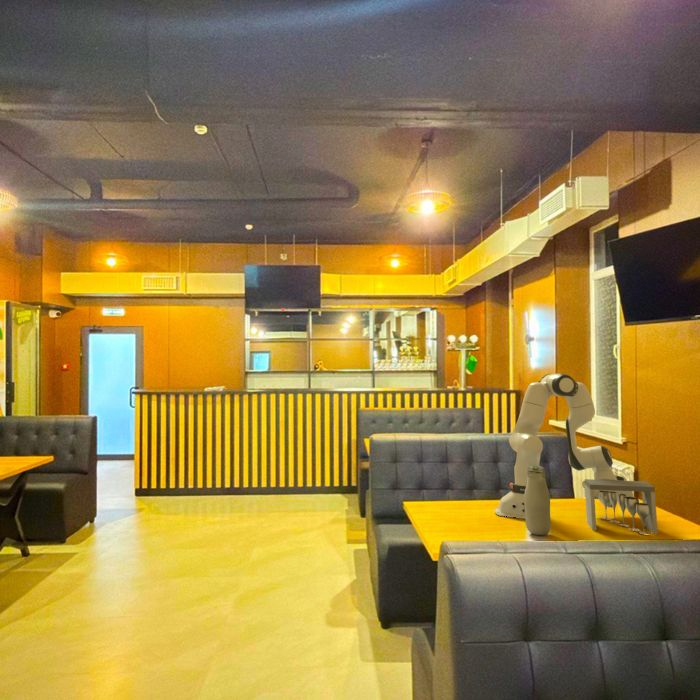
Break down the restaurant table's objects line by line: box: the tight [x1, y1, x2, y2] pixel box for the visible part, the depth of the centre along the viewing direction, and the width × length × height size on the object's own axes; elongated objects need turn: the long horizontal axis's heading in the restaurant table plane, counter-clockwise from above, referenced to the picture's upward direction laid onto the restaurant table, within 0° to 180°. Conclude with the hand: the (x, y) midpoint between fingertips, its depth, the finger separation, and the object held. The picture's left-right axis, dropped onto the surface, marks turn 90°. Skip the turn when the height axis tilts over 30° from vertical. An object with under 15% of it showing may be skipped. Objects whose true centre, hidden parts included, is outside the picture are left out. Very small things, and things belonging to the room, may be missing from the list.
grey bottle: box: [524, 465, 552, 536], centre depth 193 cm, size 10×10×28 cm
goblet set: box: [597, 491, 650, 535], centre depth 202 cm, size 28×6×13 cm, turn 8°
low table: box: [584, 478, 659, 535], centre depth 199 cm, size 24×12×19 cm, turn 73°
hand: (611, 506), depth 213 cm, fingers closed
